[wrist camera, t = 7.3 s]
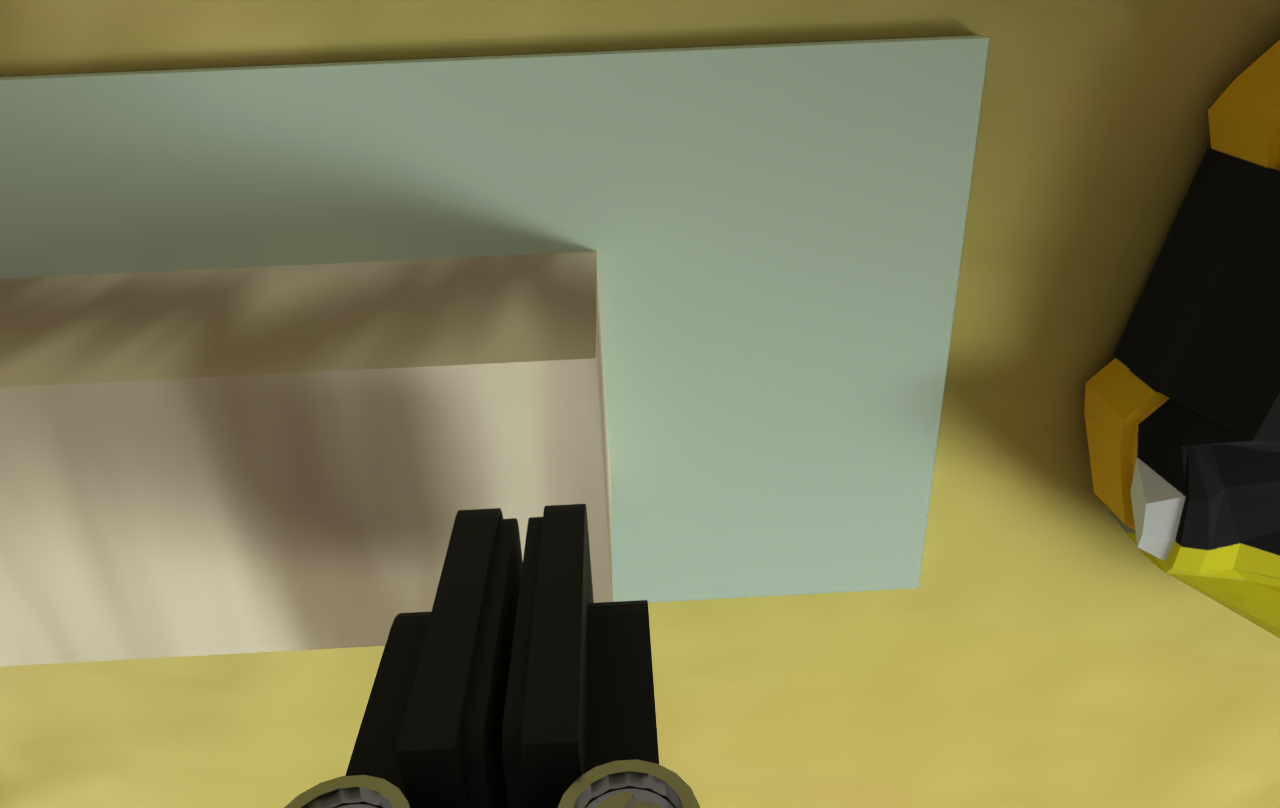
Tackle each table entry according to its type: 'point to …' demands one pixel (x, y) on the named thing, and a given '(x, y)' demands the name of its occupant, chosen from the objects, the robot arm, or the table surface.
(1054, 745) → the table surface
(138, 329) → the birch pillar
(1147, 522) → the gaming controller
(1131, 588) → the table surface
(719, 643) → the table surface
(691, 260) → the sage mat
